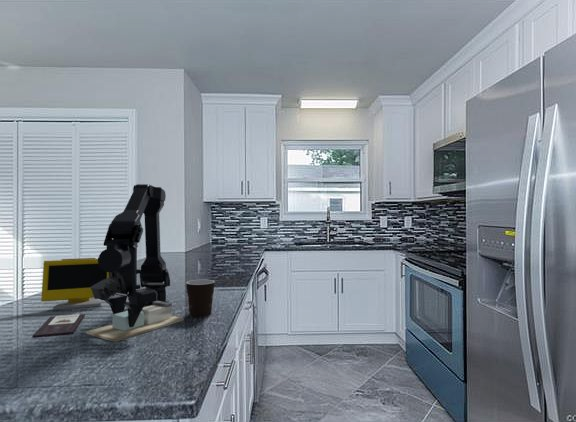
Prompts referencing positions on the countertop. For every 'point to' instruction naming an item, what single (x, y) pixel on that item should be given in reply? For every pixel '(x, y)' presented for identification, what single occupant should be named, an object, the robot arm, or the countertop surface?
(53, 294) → the toy computer monitor
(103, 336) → the board
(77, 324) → the chocolate bar
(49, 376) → the countertop surface
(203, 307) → the coffee mug
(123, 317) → the stub
